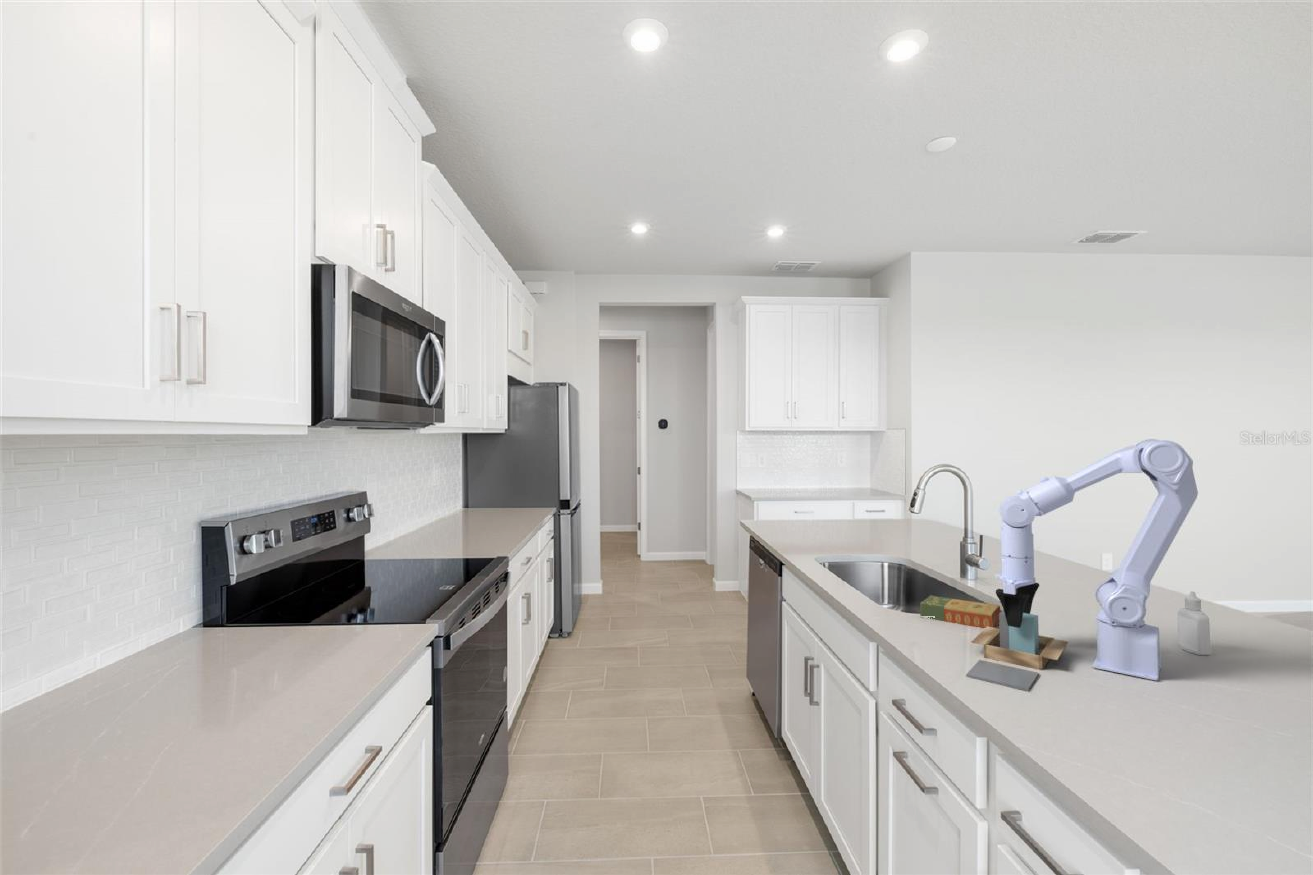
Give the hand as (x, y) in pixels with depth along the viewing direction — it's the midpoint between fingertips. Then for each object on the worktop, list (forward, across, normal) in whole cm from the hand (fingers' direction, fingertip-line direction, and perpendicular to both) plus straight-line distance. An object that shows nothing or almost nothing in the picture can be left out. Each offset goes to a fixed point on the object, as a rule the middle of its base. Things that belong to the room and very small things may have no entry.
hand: (1018, 621), depth 119 cm
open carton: (+7, 0, 0) cm, 7 cm away
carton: (+7, -16, -16) cm, 24 cm away
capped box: (+7, 0, 0) cm, 7 cm away
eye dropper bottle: (+7, -23, +26) cm, 35 cm away
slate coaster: (+7, +14, 0) cm, 15 cm away
